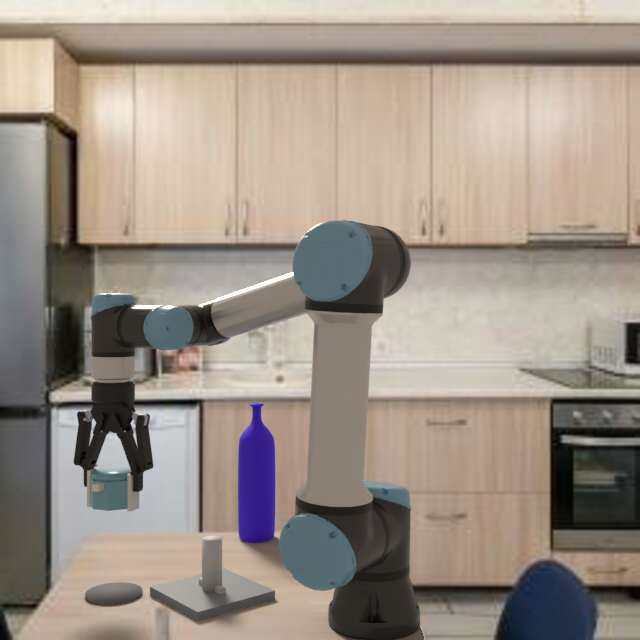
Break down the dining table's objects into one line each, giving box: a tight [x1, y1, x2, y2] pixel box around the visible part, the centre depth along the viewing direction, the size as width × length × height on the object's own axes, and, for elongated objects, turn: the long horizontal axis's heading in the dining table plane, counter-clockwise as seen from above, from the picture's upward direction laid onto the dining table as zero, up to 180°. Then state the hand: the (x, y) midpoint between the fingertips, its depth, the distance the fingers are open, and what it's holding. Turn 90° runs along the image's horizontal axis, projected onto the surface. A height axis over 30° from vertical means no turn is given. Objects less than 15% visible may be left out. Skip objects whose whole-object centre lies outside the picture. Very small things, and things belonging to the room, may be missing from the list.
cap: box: [90, 466, 131, 512], centre depth 151 cm, size 11×8×6 cm
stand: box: [149, 535, 276, 622], centre depth 151 cm, size 16×16×10 cm
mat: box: [84, 581, 143, 606], centre depth 152 cm, size 10×10×1 cm
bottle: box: [237, 402, 276, 543], centre depth 188 cm, size 8×8×30 cm
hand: (113, 507), depth 151 cm, fingers closed on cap, 8 cm apart
